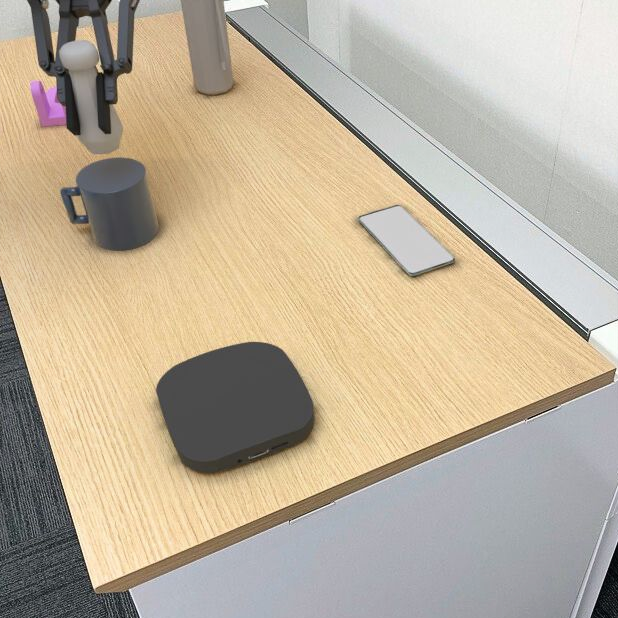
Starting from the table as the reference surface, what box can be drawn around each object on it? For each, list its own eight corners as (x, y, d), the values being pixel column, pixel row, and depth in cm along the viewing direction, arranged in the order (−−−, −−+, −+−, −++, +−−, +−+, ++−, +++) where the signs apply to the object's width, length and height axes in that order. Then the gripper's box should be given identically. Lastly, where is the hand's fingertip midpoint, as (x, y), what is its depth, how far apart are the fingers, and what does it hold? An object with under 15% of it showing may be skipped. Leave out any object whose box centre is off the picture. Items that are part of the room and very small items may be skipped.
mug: (162, 212, 106) (150, 155, 100) (154, 249, 100) (140, 191, 93) (80, 215, 106) (62, 159, 99) (67, 253, 99) (47, 195, 93)
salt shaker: (121, 158, 92) (94, 54, 83) (75, 159, 92) (43, 55, 83) (131, 135, 96) (106, 34, 87) (87, 136, 96) (58, 35, 87)
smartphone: (399, 203, 106) (456, 259, 96) (399, 207, 106) (456, 262, 96) (356, 216, 103) (410, 274, 94) (356, 219, 104) (410, 278, 94)
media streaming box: (151, 388, 81) (146, 369, 79) (276, 348, 85) (273, 329, 83) (189, 487, 71) (183, 468, 69) (326, 436, 76) (325, 417, 74)
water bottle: (185, 88, 136) (159, -63, 118) (220, 75, 139) (200, -72, 122) (214, 104, 131) (191, -50, 113) (249, 91, 134) (233, -61, 117)
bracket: (75, 123, 126) (64, 84, 121) (42, 126, 125) (29, 87, 121) (80, 90, 135) (70, 53, 130) (49, 93, 135) (37, 55, 130)
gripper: (154, -48, 92) (163, 137, 92) (24, -44, 92) (33, 143, 92) (139, -84, 85) (149, 118, 85) (-2, -80, 84) (7, 124, 84)
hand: (89, 130), depth 88 cm, fingers closed on salt shaker, 3 cm apart
